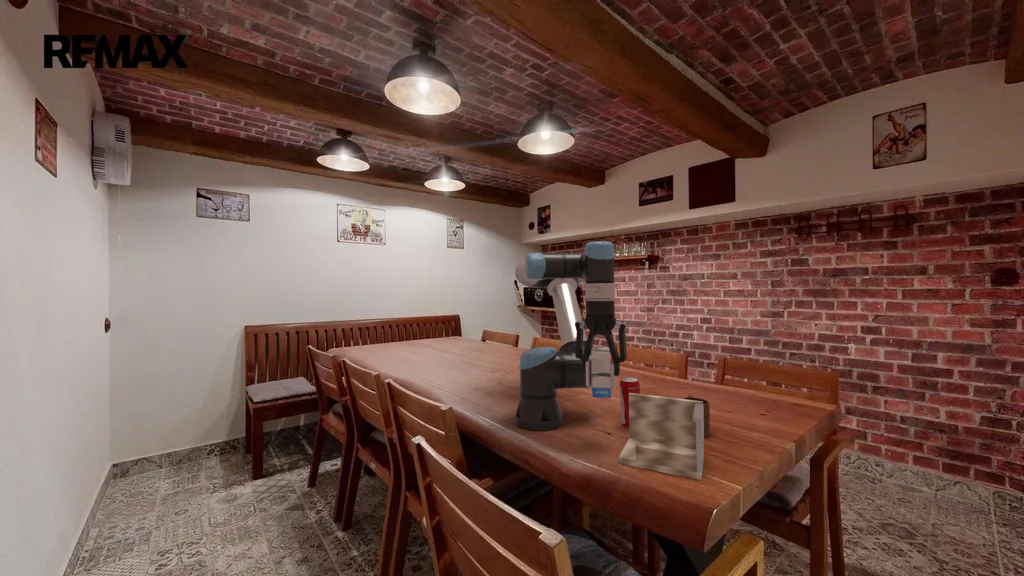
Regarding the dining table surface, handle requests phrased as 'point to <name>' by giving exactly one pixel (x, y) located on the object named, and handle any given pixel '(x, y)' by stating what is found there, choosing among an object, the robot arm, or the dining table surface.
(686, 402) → the shelf
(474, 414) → the dining table surface
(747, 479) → the dining table surface
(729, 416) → the dining table surface
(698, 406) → the bookend
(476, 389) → the dining table surface
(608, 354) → the ink box
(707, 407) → the mug
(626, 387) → the beverage can
